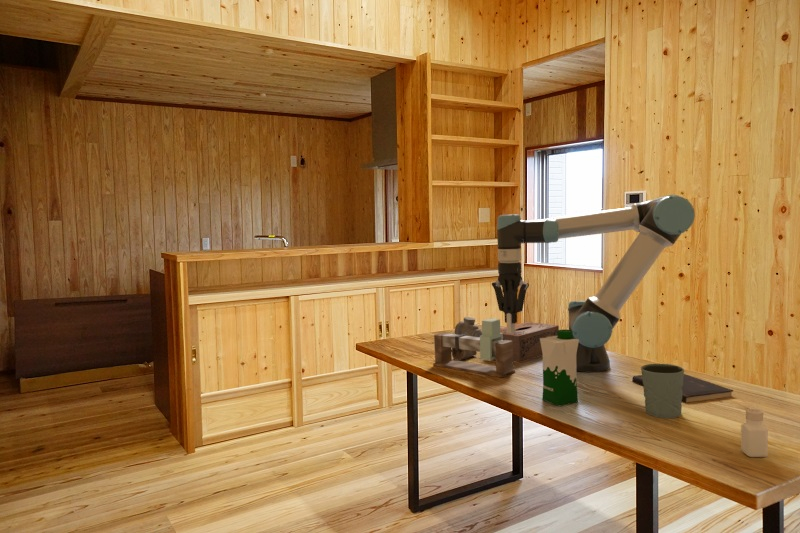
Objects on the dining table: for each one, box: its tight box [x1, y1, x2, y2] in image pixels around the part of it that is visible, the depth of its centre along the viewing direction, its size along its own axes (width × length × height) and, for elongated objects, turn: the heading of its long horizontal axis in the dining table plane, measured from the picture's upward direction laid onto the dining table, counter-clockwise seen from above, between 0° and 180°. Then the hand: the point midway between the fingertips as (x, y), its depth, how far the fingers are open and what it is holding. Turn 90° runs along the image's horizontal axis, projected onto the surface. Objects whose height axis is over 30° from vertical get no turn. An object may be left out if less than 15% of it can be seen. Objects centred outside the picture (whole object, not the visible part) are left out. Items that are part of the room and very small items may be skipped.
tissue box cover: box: [500, 321, 560, 363], centre depth 225 cm, size 26×14×10 cm, turn 132°
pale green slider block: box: [479, 318, 503, 362], centre depth 199 cm, size 4×8×13 cm, turn 138°
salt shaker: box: [740, 408, 769, 458], centre depth 125 cm, size 4×4×10 cm
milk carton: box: [540, 329, 579, 407], centre depth 166 cm, size 9×9×20 cm
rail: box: [433, 331, 516, 378], centre depth 205 cm, size 29×8×11 cm, turn 48°
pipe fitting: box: [454, 316, 482, 337], centre depth 252 cm, size 12×8×10 cm
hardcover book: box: [632, 373, 734, 404], centre depth 174 cm, size 16×23×2 cm
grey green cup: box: [640, 363, 685, 419], centre depth 153 cm, size 10×10×12 cm
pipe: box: [451, 348, 478, 361], centre depth 226 cm, size 6×17×10 cm
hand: (511, 332), depth 194 cm, fingers closed
